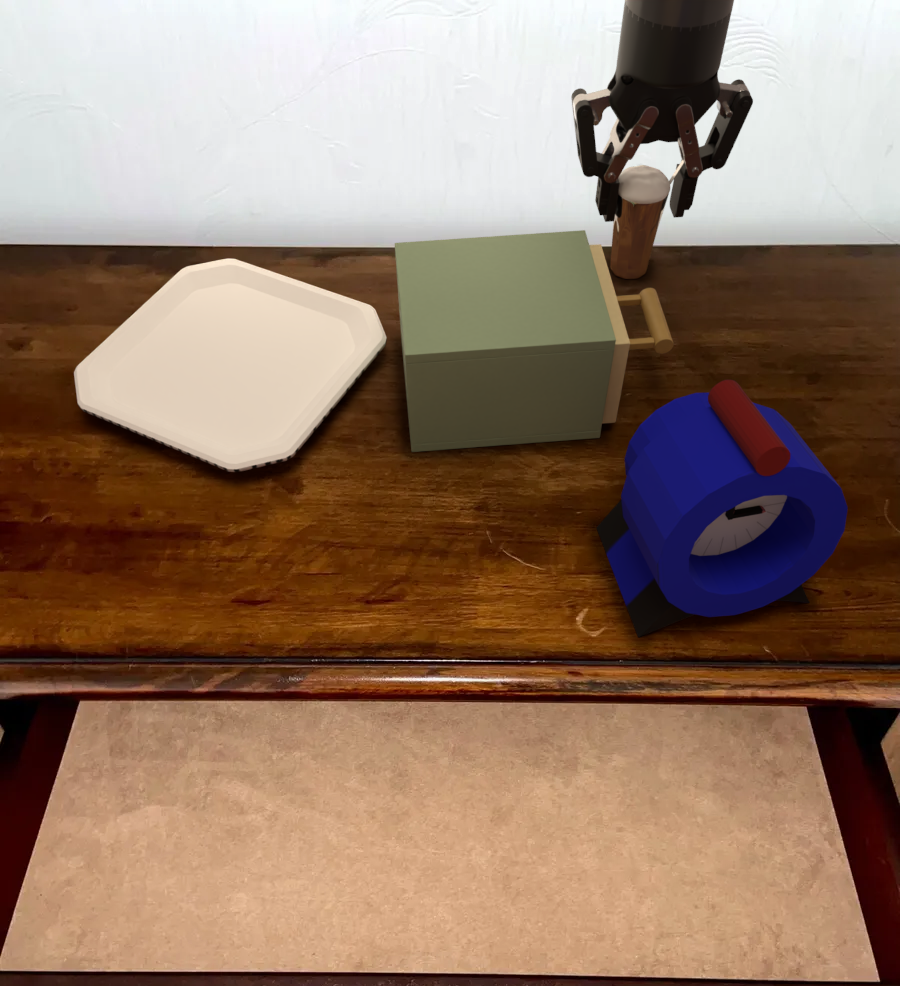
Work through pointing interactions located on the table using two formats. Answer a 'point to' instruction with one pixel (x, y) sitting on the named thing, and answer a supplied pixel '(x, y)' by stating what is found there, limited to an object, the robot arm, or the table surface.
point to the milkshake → (638, 218)
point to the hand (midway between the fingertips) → (642, 213)
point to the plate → (231, 364)
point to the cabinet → (503, 340)
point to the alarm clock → (718, 511)
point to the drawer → (623, 344)
